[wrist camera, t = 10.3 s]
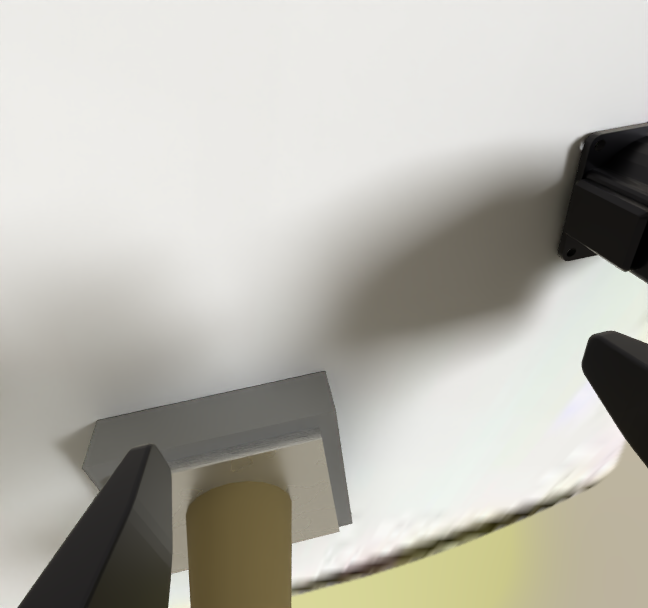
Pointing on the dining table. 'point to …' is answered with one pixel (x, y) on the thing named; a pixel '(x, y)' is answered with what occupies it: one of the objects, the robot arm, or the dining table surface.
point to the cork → (240, 547)
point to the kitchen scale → (240, 451)
